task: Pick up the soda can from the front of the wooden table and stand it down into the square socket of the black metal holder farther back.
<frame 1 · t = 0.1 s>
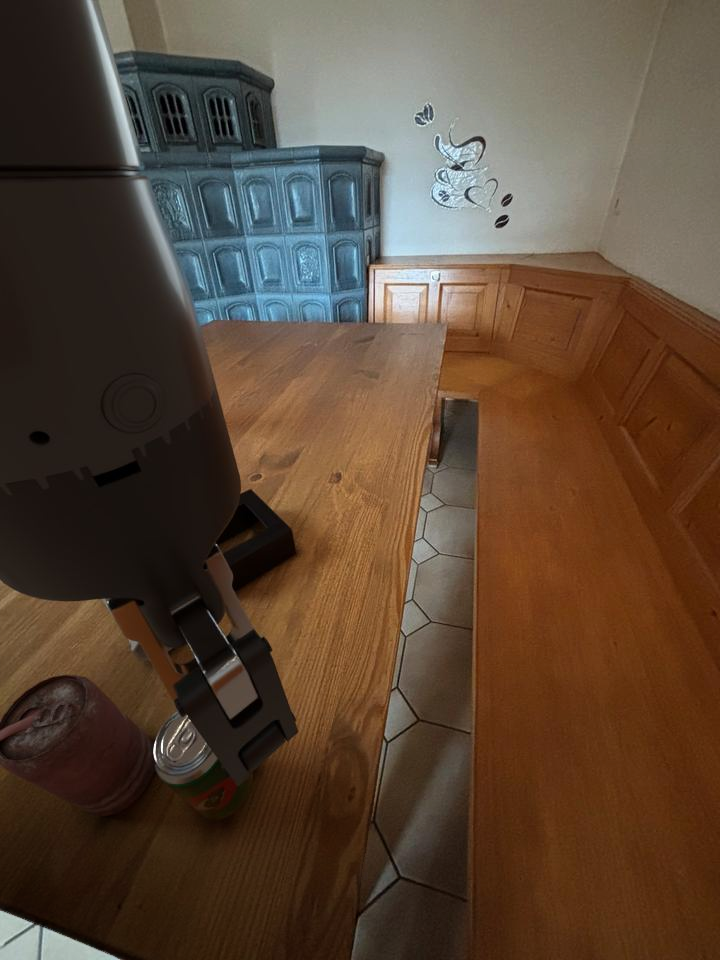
hand: (215, 668, 21), 22 cm above the table, tool pointing down, fingers open, 8 cm apart
holder: (241, 550, 56), on the table
soda can: (226, 785, 35), on the table
tube: (123, 591, 51), on the table
can: (122, 776, 35), on the table
bottle: (121, 435, 81), on the table
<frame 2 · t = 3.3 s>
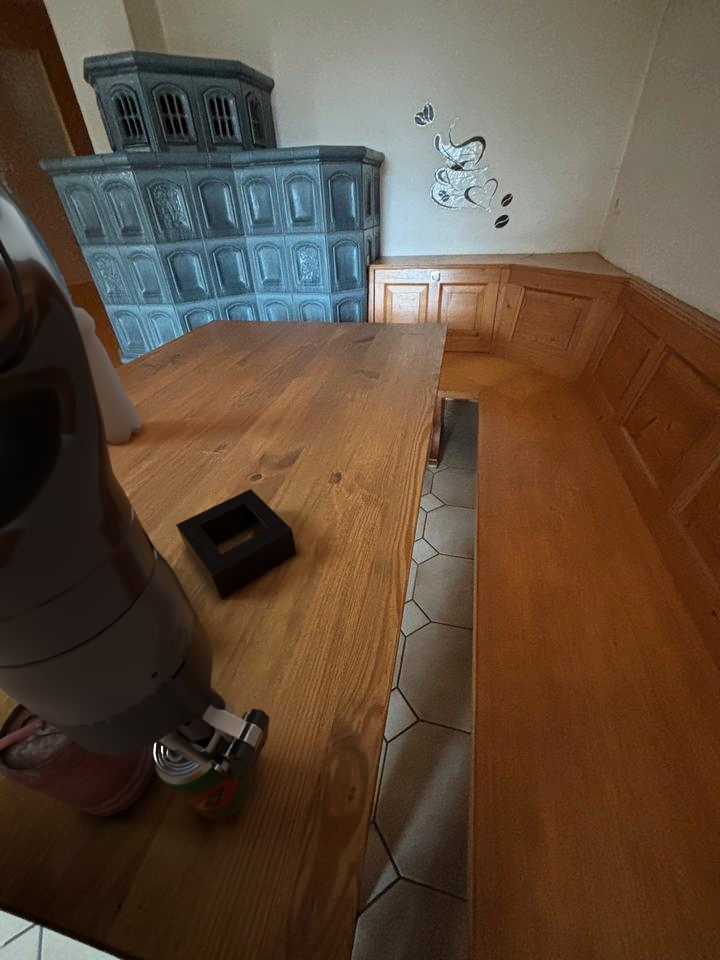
hand: (205, 750, 30), 8 cm above the table, tool pointing down, fingers closed on soda can, 5 cm apart
soda can: (226, 784, 35), on the table, touching gripper
everything else where it was.
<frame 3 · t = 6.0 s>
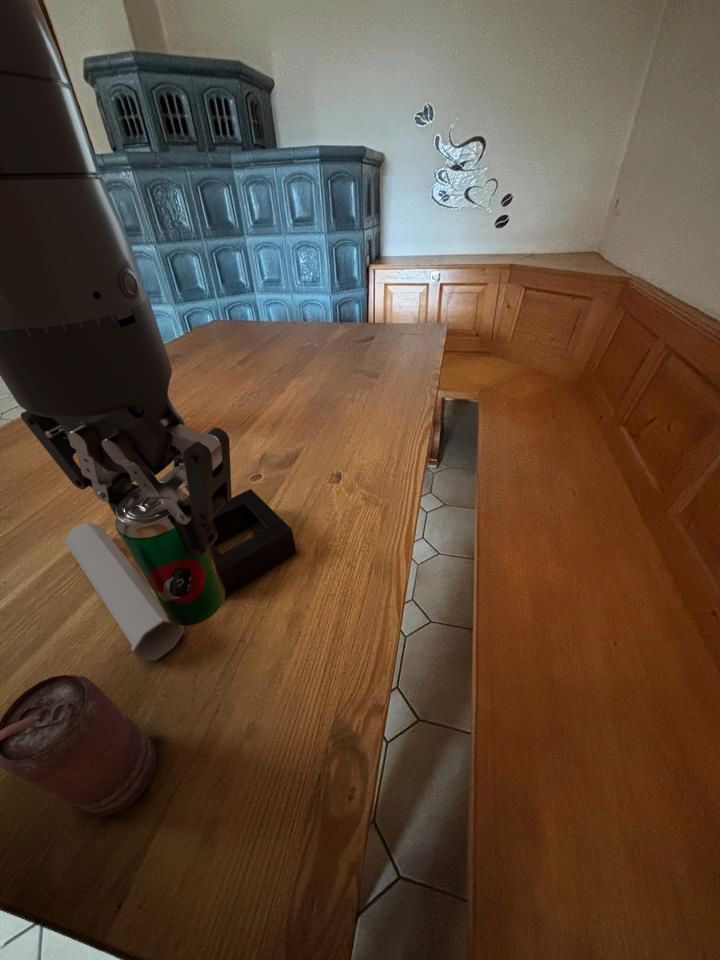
hand: (172, 537, 29), 21 cm above the table, tool pointing down, fingers closed on soda can, 5 cm apart
soda can: (197, 604, 34), point 13 cm above the table, touching gripper
everything else where it was.
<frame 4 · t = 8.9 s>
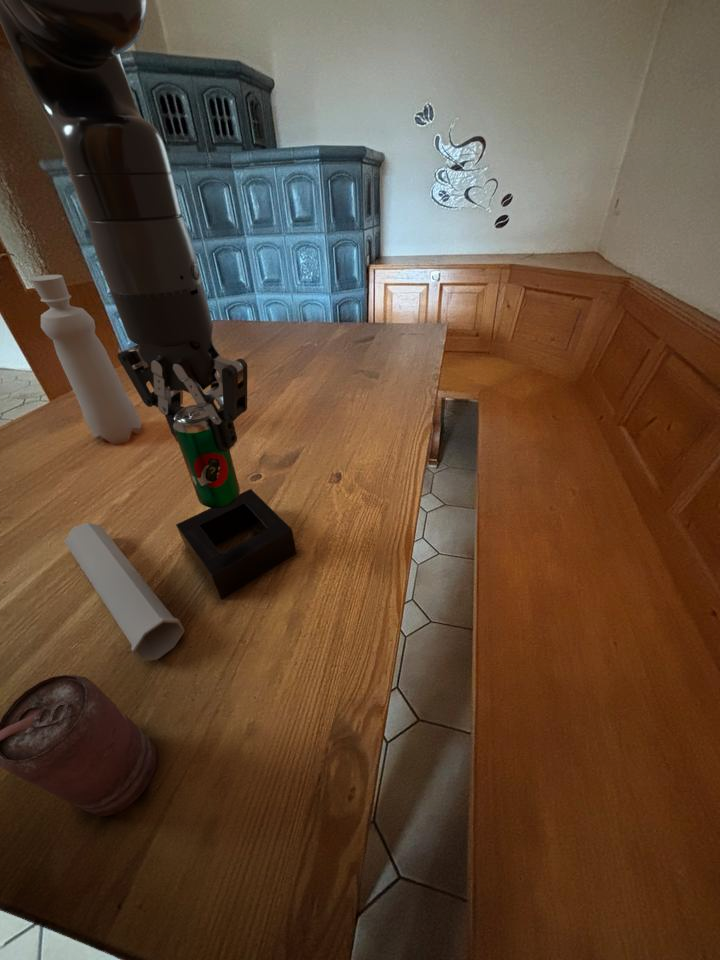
hand: (206, 443, 44), 19 cm above the table, tool pointing down, fingers closed on soda can, 5 cm apart
soda can: (220, 498, 49), point 11 cm above the table, touching gripper
everything else where it was.
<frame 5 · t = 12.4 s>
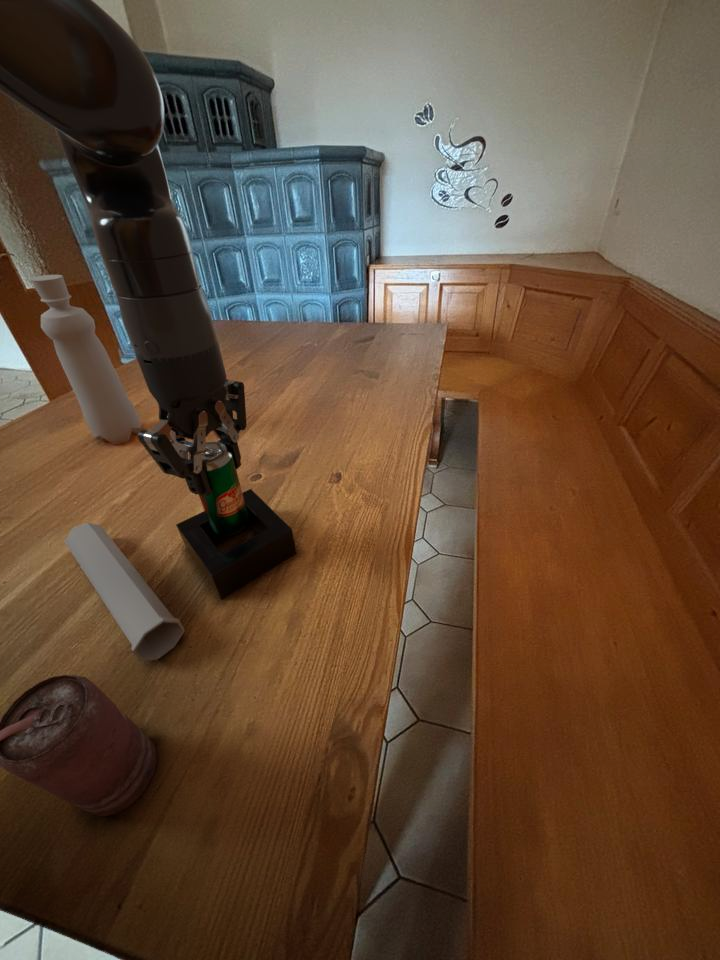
hand: (218, 479, 47), 14 cm above the table, tool pointing down, fingers closed on soda can, 5 cm apart
soda can: (230, 524, 52), point 5 cm above the table, touching gripper
everything else where it was.
when the fingers open (8 cm above the table, at t = 14.9 s): soda can stays where it is, resting in holder.
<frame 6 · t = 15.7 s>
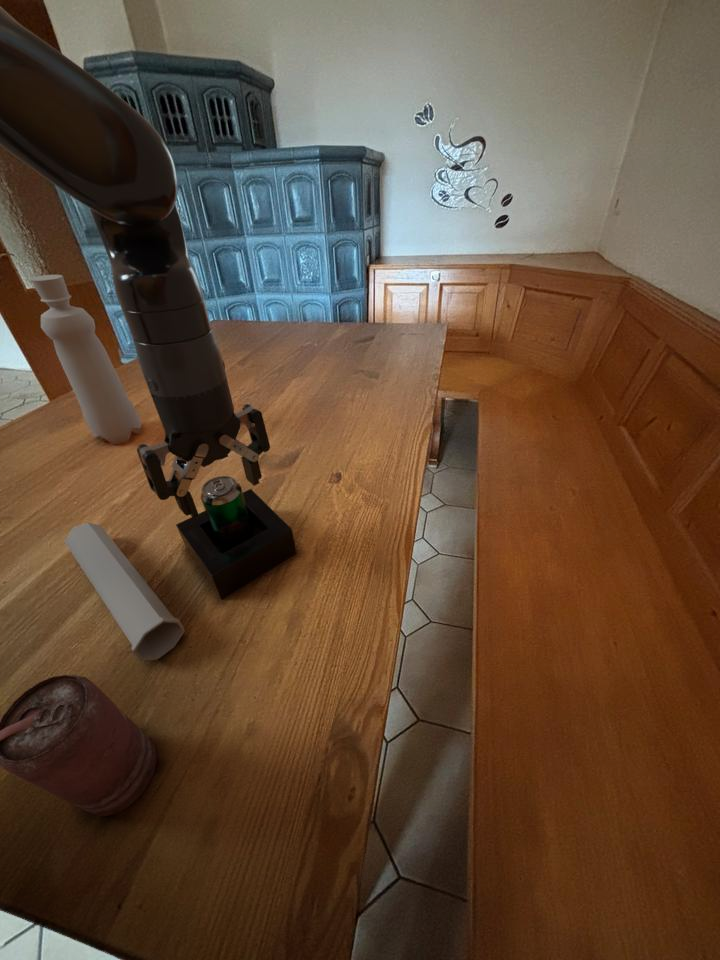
hand: (224, 497, 49), 11 cm above the table, tool pointing down, fingers open, 8 cm apart
soda can: (239, 550, 56), resting in holder
everything else where it was.
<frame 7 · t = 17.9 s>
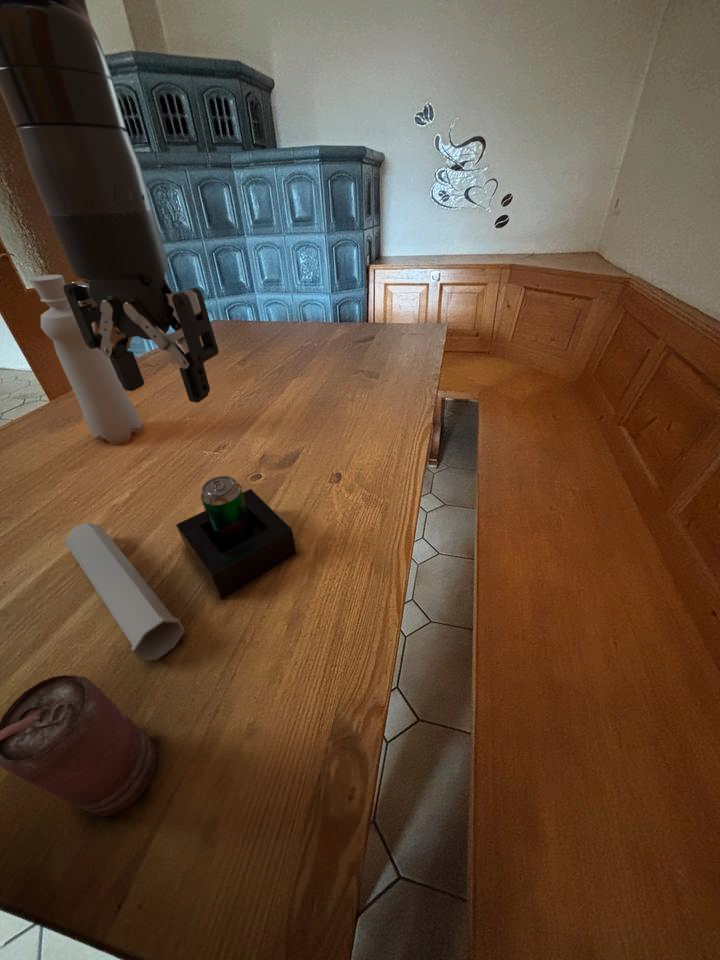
hand: (166, 393, 41), 25 cm above the table, tool pointing down, fingers open, 8 cm apart
nothing on the table moved.
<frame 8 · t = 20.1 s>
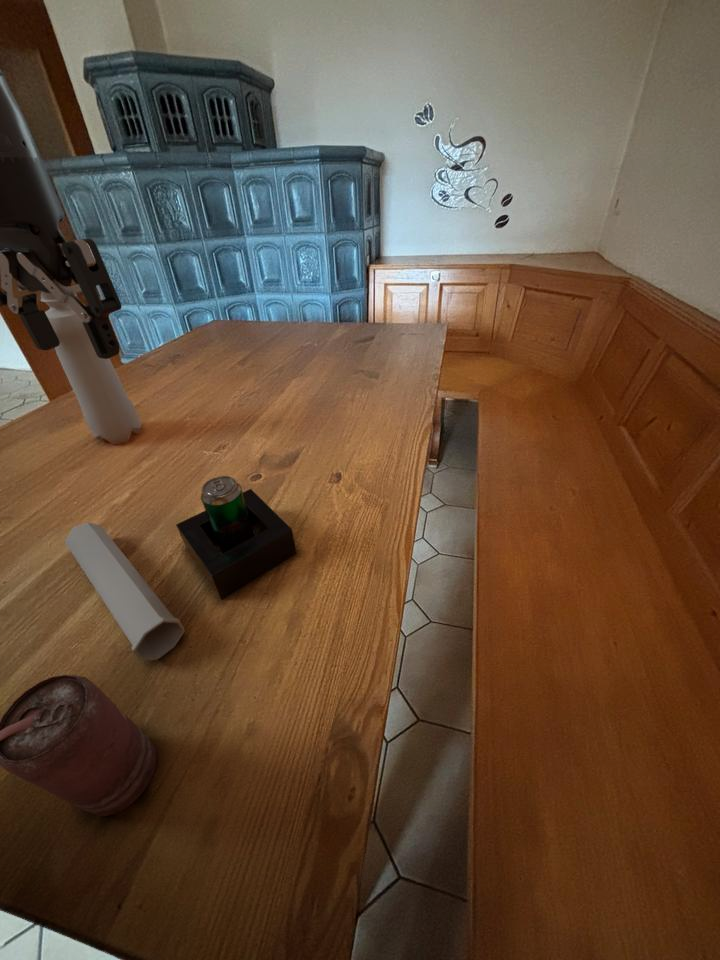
hand: (79, 351, 41), 28 cm above the table, tool pointing down, fingers open, 8 cm apart
nothing on the table moved.
at the end: soda can 0.5 cm off-centre in the holder, point 0.0 cm above the holder's base; soda can tilted 0°; the gripper is holding nothing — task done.
